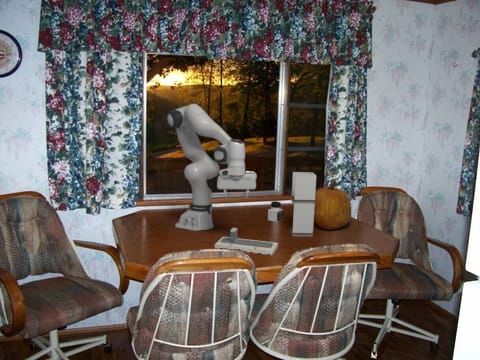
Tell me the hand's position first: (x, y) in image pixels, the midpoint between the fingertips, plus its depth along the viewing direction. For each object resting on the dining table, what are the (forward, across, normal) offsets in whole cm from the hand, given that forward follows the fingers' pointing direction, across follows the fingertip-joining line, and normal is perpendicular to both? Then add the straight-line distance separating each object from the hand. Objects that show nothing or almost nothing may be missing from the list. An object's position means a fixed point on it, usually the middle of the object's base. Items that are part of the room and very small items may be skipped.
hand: (236, 197), depth 233 cm
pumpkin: (+25, -56, -38) cm, 72 cm away
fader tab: (+23, +1, +3) cm, 23 cm away
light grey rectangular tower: (+25, -37, -22) cm, 50 cm away
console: (+25, -5, +5) cm, 26 cm away
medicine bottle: (+24, -24, -51) cm, 62 cm away
